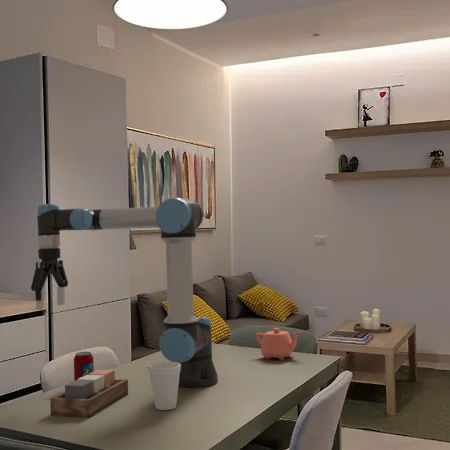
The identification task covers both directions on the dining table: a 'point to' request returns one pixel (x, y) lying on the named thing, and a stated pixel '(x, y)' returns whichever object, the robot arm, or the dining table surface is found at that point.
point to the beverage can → (83, 364)
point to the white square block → (94, 381)
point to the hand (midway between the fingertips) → (50, 307)
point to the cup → (165, 383)
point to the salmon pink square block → (106, 376)
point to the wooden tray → (89, 401)
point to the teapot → (277, 343)
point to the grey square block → (79, 389)
